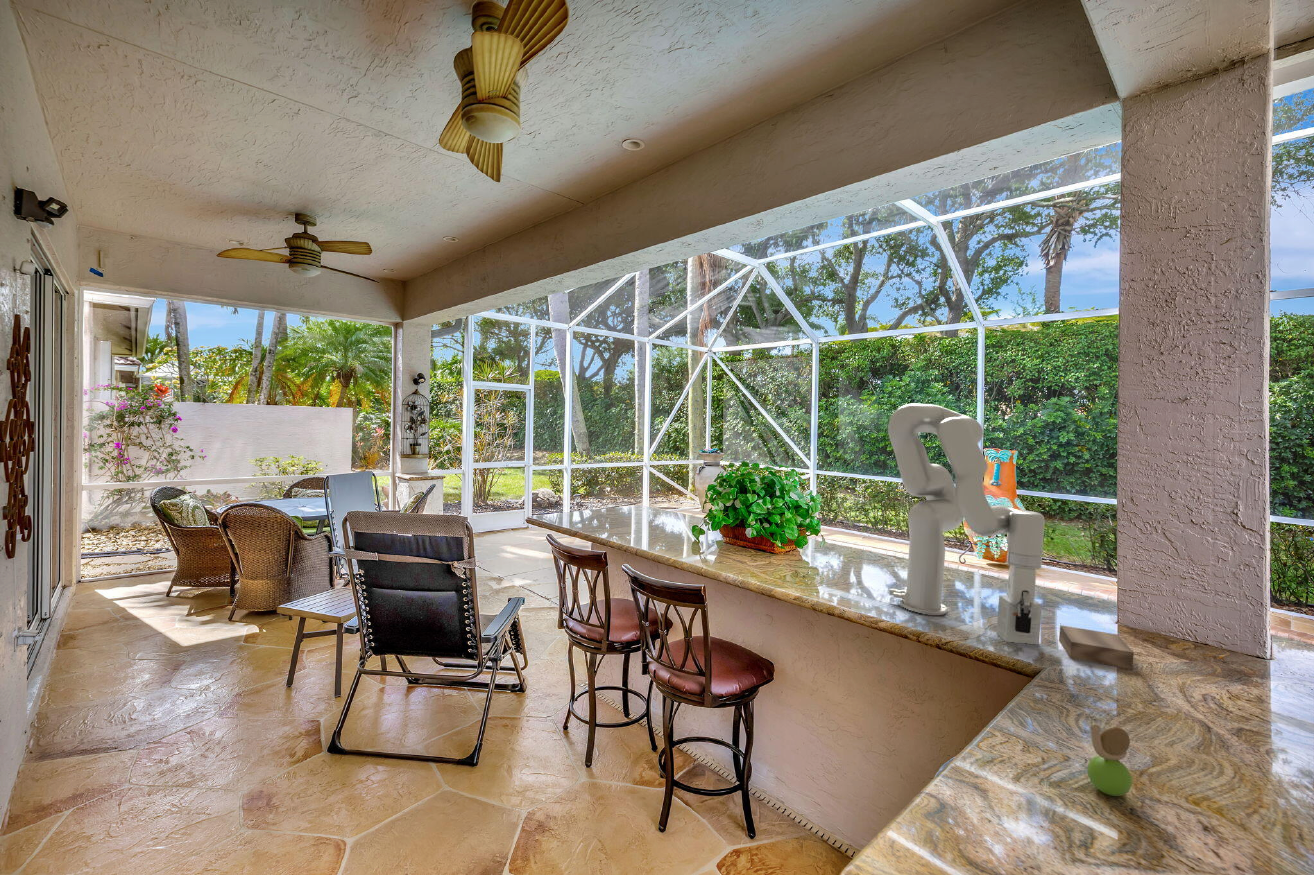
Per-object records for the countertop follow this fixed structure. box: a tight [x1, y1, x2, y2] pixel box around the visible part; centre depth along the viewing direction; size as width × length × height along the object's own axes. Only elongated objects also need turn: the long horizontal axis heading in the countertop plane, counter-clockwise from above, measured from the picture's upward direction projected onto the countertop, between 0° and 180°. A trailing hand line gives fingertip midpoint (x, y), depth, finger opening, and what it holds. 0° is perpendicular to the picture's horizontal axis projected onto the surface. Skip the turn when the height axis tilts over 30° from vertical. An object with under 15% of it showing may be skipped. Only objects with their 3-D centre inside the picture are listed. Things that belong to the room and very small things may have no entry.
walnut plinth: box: [1058, 624, 1135, 670], centre depth 144 cm, size 12×12×4 cm
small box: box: [996, 594, 1043, 645], centre depth 151 cm, size 8×6×10 cm
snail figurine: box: [1086, 714, 1133, 797], centre depth 90 cm, size 5×6×12 cm
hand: (1019, 625), depth 151 cm, fingers open, 9 cm apart
